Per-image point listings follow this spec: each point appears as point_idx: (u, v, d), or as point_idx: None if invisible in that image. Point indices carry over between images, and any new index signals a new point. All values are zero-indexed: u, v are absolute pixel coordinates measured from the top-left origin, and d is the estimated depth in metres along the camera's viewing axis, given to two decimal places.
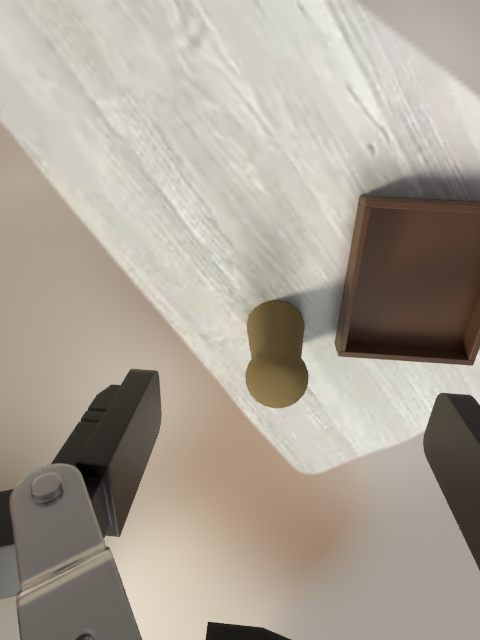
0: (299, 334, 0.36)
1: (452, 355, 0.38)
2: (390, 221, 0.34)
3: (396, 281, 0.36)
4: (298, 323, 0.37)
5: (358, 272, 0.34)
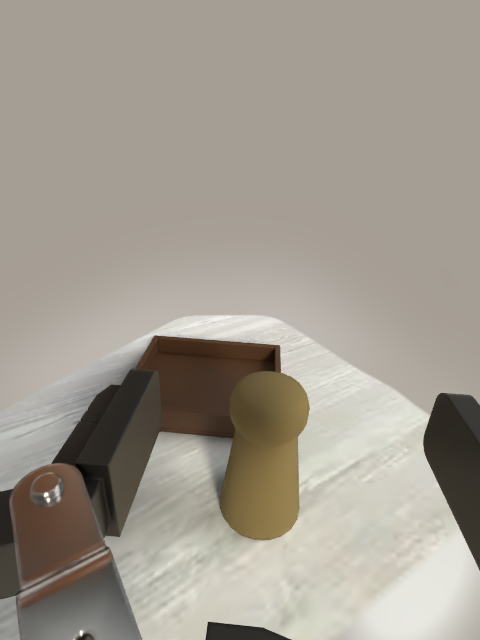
0: None
1: (274, 358, 0.44)
2: None
3: (205, 398, 0.39)
4: None
5: (183, 408, 0.35)
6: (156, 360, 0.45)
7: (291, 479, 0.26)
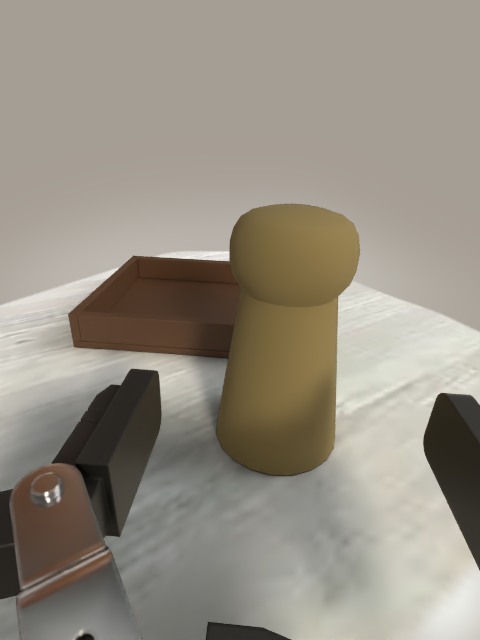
0: None
1: None
2: None
3: (196, 317, 0.30)
4: None
5: (165, 317, 0.25)
6: (135, 284, 0.35)
7: (328, 375, 0.16)
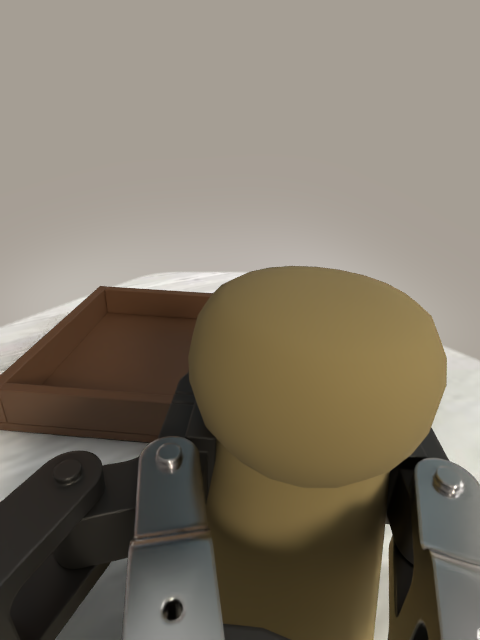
0: None
1: None
2: None
3: (172, 378, 0.22)
4: None
5: (121, 392, 0.18)
6: (100, 324, 0.28)
7: (372, 575, 0.09)
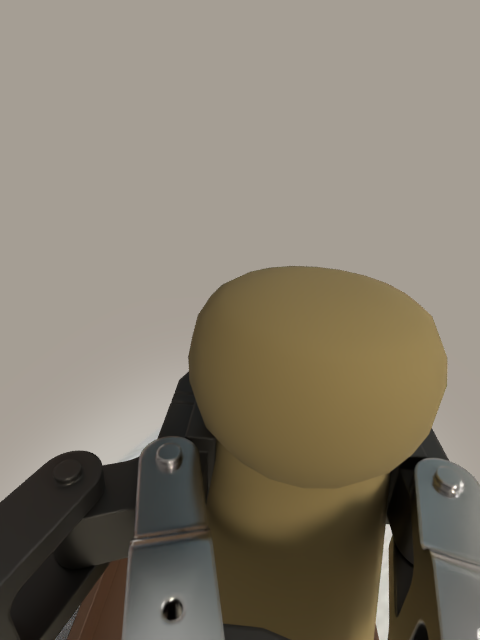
0: None
1: None
2: None
3: None
4: None
5: None
6: None
7: (373, 575, 0.09)
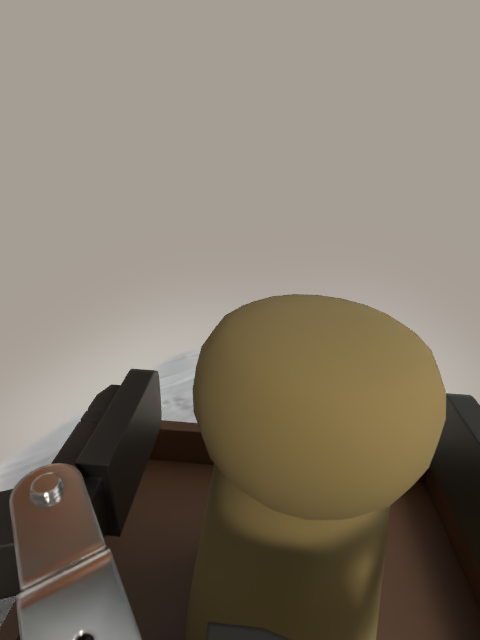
0: None
1: None
2: None
3: None
4: None
5: None
6: None
7: (373, 599, 0.09)
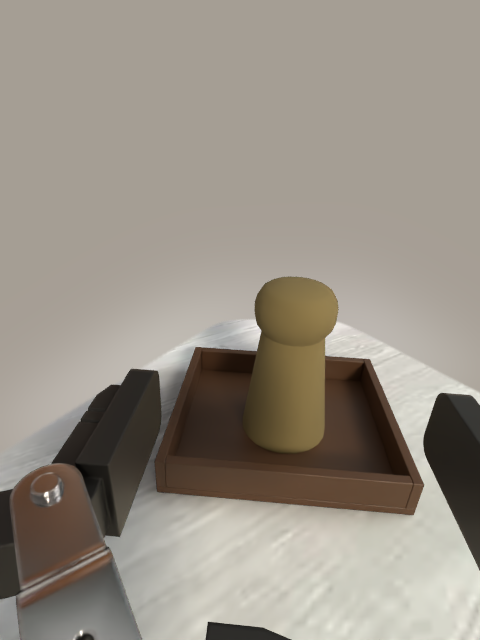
0: None
1: (366, 377, 0.32)
2: (198, 451, 0.25)
3: None
4: None
5: (263, 464, 0.22)
6: (200, 382, 0.32)
7: (318, 387, 0.25)
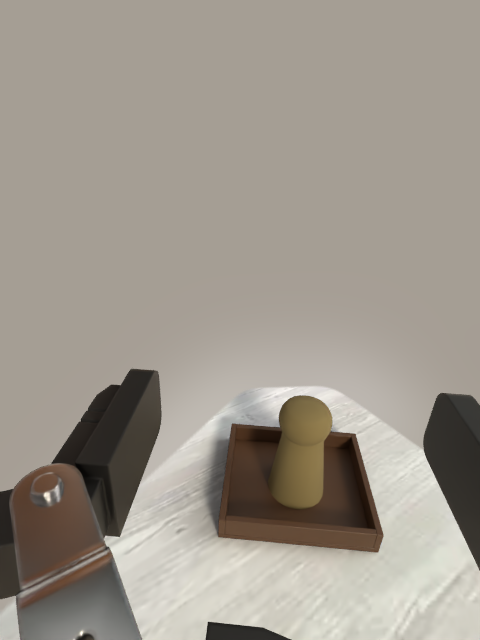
0: None
1: (352, 448, 0.45)
2: (241, 508, 0.39)
3: None
4: None
5: (286, 521, 0.36)
6: (236, 450, 0.46)
7: (319, 468, 0.38)
